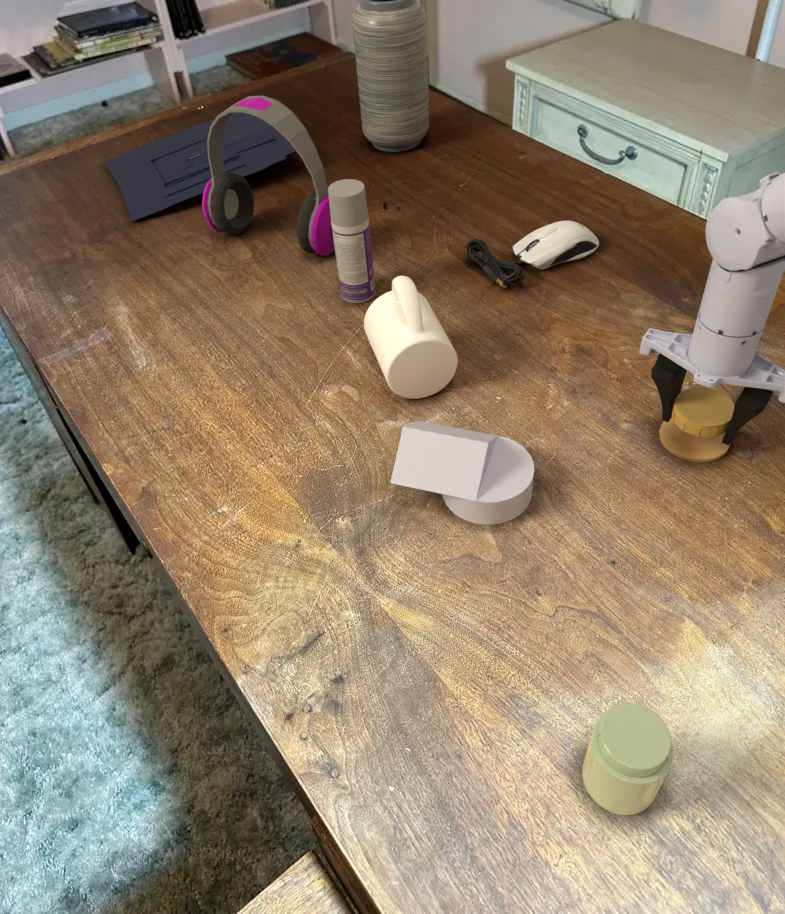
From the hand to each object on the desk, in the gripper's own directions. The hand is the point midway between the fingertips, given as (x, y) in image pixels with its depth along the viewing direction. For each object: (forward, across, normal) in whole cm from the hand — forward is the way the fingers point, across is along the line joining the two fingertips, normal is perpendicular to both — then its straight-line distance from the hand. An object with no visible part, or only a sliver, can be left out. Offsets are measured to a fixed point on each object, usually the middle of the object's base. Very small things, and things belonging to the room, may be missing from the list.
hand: (697, 426), depth 79 cm
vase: (+2, -70, +43) cm, 82 cm away
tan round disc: (+2, 0, 0) cm, 2 cm away
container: (+2, -47, +3) cm, 47 cm away
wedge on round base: (+2, -16, -18) cm, 25 cm away
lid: (-3, 0, 0) cm, 3 cm away
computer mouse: (+2, -30, +22) cm, 38 cm away
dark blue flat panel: (+2, -92, +19) cm, 94 cm away
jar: (+2, +8, -37) cm, 38 cm away
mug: (+2, -32, -7) cm, 32 cm away
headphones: (+2, -66, +8) cm, 66 cm away
